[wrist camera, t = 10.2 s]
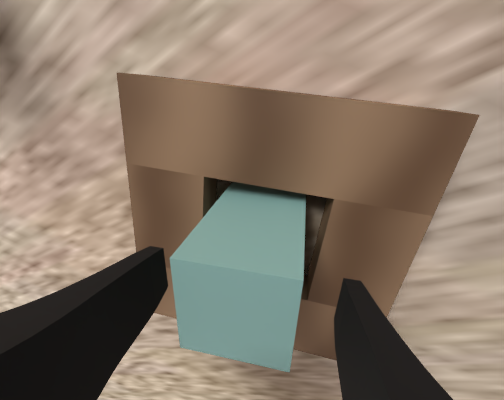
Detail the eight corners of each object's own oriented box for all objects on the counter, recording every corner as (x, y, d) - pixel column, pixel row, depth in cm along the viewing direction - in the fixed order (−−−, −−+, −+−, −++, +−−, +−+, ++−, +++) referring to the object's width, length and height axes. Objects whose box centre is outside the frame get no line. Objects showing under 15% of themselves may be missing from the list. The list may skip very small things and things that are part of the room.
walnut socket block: (450, 110, 11) (479, 115, 9) (357, 337, 16) (363, 367, 15) (144, 75, 13) (116, 72, 11) (158, 288, 18) (142, 309, 17)
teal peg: (306, 189, 13) (303, 280, 7) (297, 252, 15) (289, 372, 9) (232, 182, 14) (169, 258, 8) (232, 243, 16) (180, 347, 9)
